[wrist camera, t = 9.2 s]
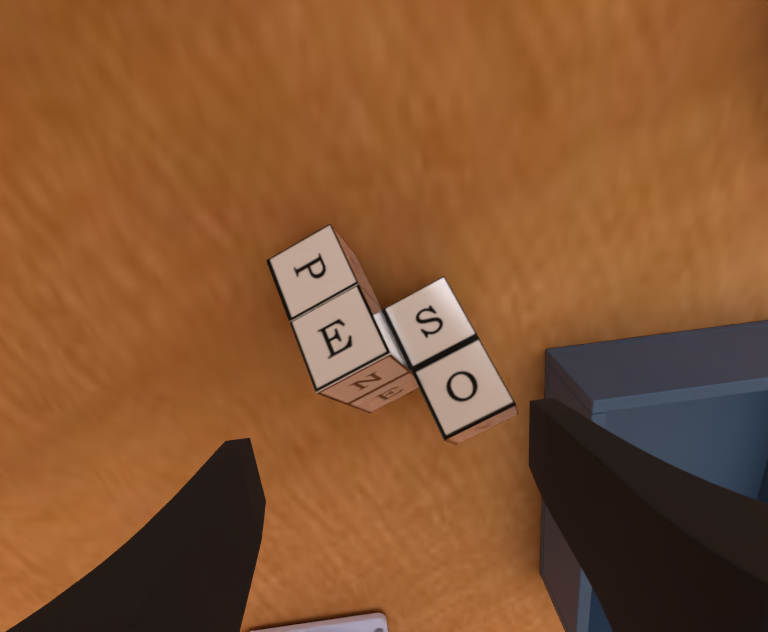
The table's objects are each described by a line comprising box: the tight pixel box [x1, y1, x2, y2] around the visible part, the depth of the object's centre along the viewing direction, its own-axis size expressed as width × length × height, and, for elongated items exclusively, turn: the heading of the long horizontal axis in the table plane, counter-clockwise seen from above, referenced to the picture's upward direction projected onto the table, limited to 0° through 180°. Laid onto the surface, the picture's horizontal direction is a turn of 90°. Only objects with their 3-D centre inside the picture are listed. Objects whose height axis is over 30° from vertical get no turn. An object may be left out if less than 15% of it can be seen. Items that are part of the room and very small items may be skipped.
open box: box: [540, 320, 768, 632], centre depth 22 cm, size 14×12×4 cm
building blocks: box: [266, 224, 518, 445], centre depth 17 cm, size 5×5×8 cm
